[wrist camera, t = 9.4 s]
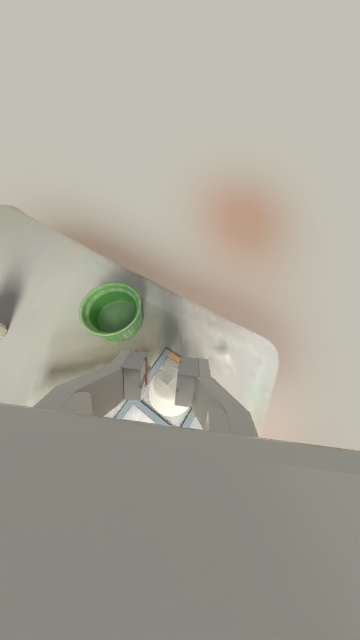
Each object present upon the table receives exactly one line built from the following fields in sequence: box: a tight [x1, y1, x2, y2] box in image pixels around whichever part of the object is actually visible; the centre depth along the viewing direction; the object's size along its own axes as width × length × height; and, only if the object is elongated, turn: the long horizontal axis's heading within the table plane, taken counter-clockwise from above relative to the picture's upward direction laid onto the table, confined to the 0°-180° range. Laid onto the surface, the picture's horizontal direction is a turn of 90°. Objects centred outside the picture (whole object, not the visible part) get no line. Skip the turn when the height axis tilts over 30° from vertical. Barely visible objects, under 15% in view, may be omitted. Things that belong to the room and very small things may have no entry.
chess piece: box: [149, 367, 188, 416], centre depth 14 cm, size 5×5×10 cm
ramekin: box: [79, 283, 143, 341], centre depth 27 cm, size 9×9×4 cm
